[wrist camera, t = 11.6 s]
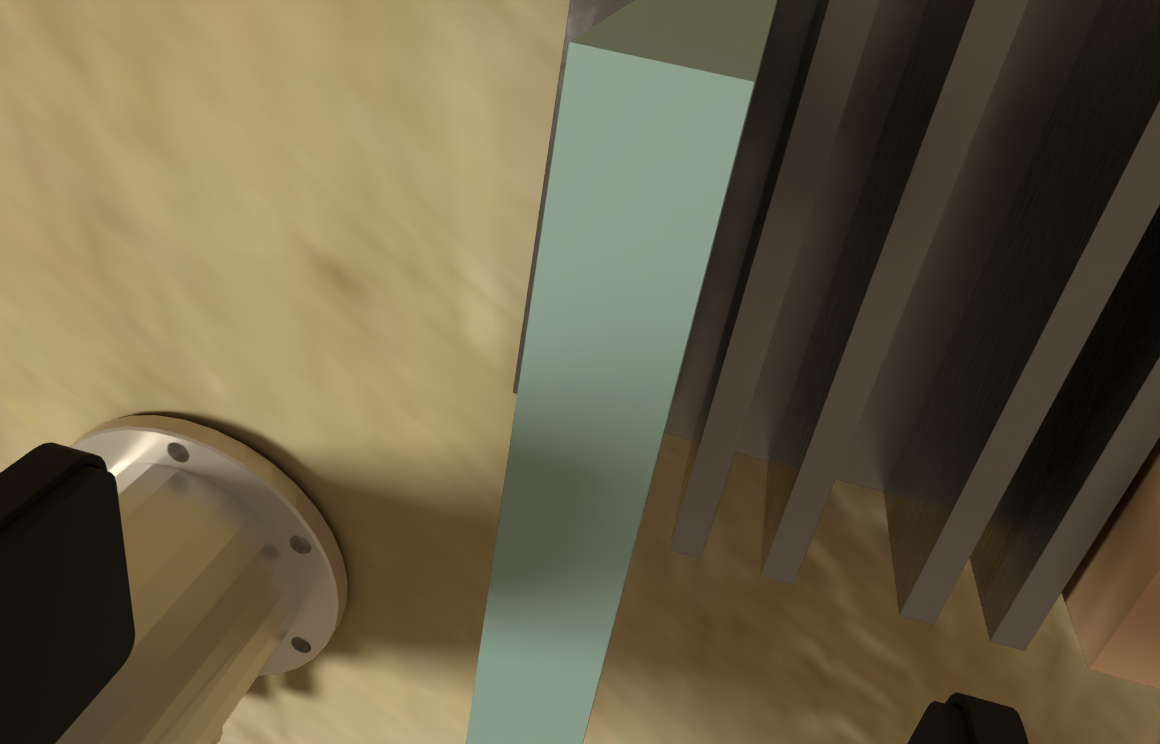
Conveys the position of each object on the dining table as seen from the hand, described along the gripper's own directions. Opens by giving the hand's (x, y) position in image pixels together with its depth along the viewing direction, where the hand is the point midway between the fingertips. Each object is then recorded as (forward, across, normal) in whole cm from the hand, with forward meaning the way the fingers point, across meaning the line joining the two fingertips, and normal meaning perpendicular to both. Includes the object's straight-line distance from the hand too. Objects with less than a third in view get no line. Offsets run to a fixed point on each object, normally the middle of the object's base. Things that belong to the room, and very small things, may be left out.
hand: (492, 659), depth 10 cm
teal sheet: (+15, -1, -1) cm, 15 cm away
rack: (+16, -7, -1) cm, 18 cm away
